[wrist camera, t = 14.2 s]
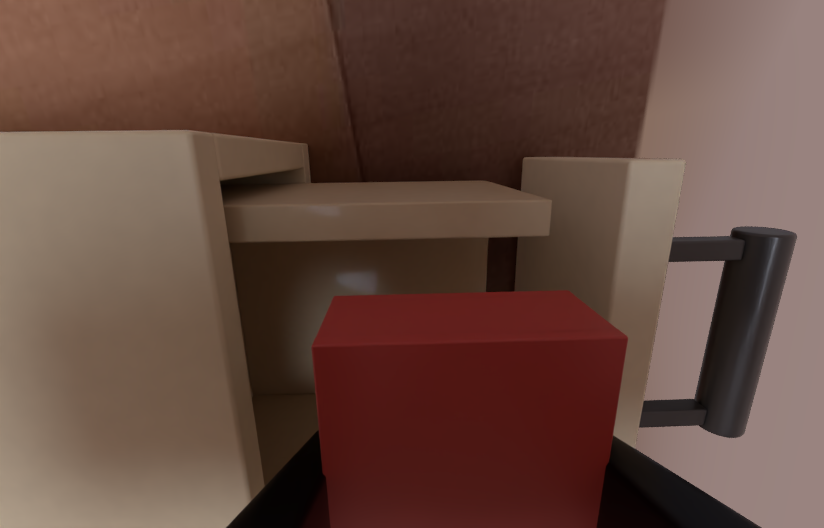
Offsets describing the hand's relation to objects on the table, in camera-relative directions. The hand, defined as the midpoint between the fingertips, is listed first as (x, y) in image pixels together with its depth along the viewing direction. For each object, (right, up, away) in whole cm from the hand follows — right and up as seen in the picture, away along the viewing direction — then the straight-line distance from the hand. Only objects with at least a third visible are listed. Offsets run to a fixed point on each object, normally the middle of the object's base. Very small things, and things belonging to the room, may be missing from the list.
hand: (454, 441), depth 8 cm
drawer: (+1, +2, +8) cm, 8 cm away
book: (0, 0, 0) cm, 0 cm away
